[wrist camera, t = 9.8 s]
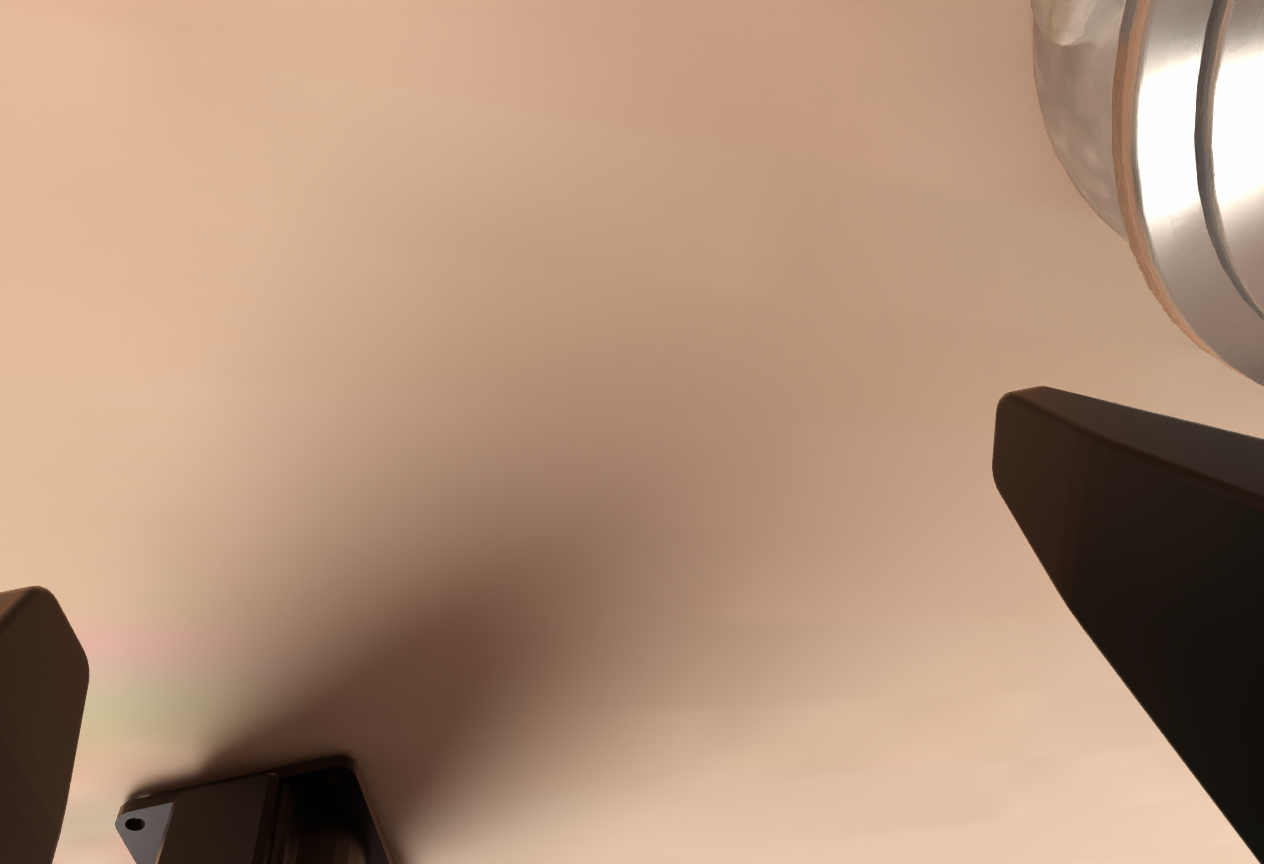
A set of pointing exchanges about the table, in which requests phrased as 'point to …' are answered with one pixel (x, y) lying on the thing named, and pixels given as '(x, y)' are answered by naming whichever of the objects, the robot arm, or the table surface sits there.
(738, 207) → the table surface
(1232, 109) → the lid
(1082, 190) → the dish
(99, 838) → the table surface
